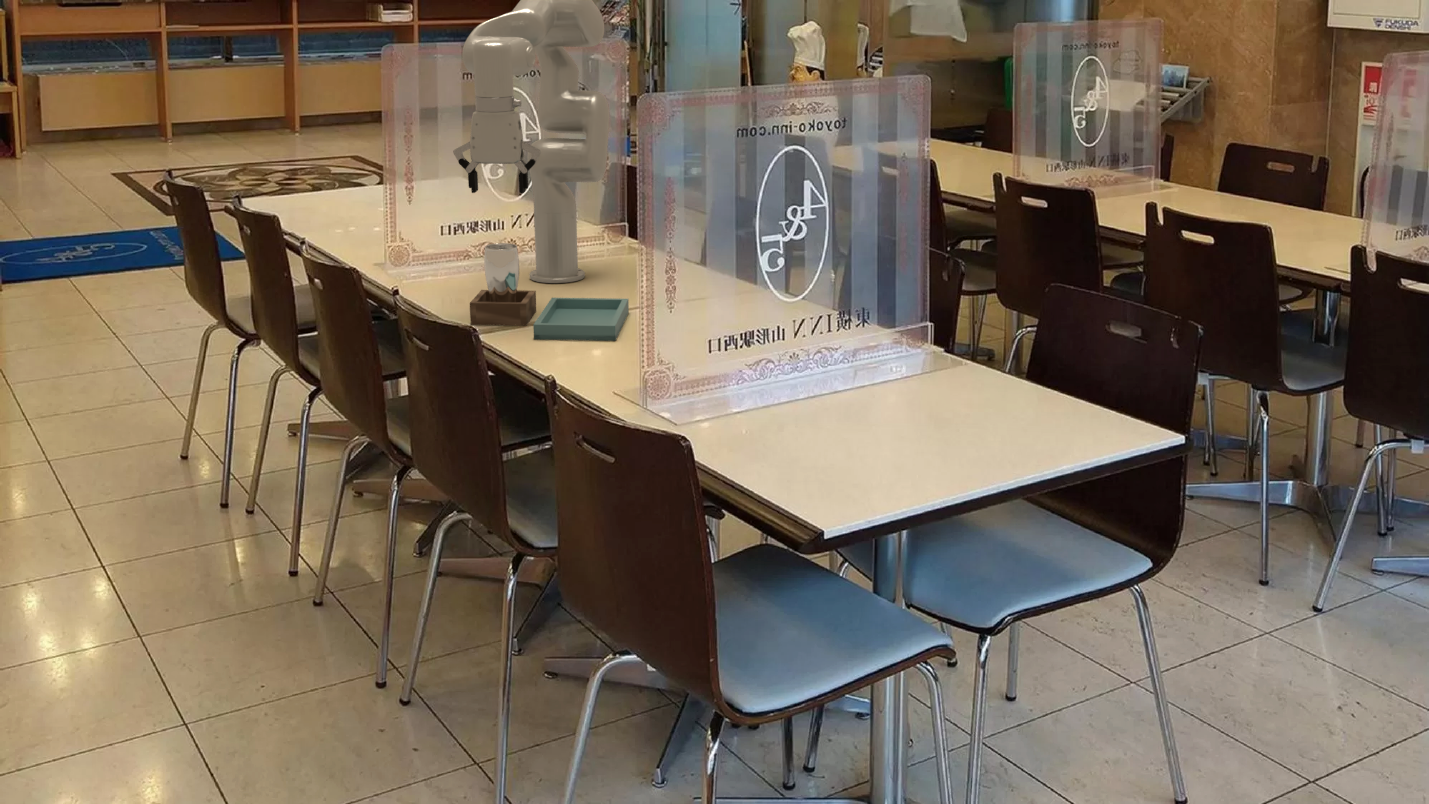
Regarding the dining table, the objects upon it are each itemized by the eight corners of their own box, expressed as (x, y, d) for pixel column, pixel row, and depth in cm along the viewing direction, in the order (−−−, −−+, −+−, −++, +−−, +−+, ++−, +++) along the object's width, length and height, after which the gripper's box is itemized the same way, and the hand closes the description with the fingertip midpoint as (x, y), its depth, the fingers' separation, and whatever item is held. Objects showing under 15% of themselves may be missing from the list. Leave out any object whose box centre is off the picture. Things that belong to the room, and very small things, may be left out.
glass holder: (482, 310, 312) (481, 289, 311) (536, 311, 311) (535, 290, 310) (470, 324, 301) (469, 303, 300) (526, 325, 301) (525, 304, 299)
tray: (552, 311, 312) (551, 297, 311) (628, 312, 311) (628, 298, 310) (533, 339, 291) (533, 324, 290) (615, 340, 290) (615, 325, 289)
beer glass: (514, 323, 302) (511, 250, 298) (482, 321, 304) (478, 249, 299) (525, 314, 309) (522, 243, 304) (493, 313, 310) (490, 242, 306)
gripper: (541, 103, 296) (544, 189, 301) (455, 103, 297) (460, 188, 302) (535, 108, 289) (538, 195, 294) (446, 107, 290) (451, 195, 295)
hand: (498, 192), depth 298 cm, fingers open, 9 cm apart
